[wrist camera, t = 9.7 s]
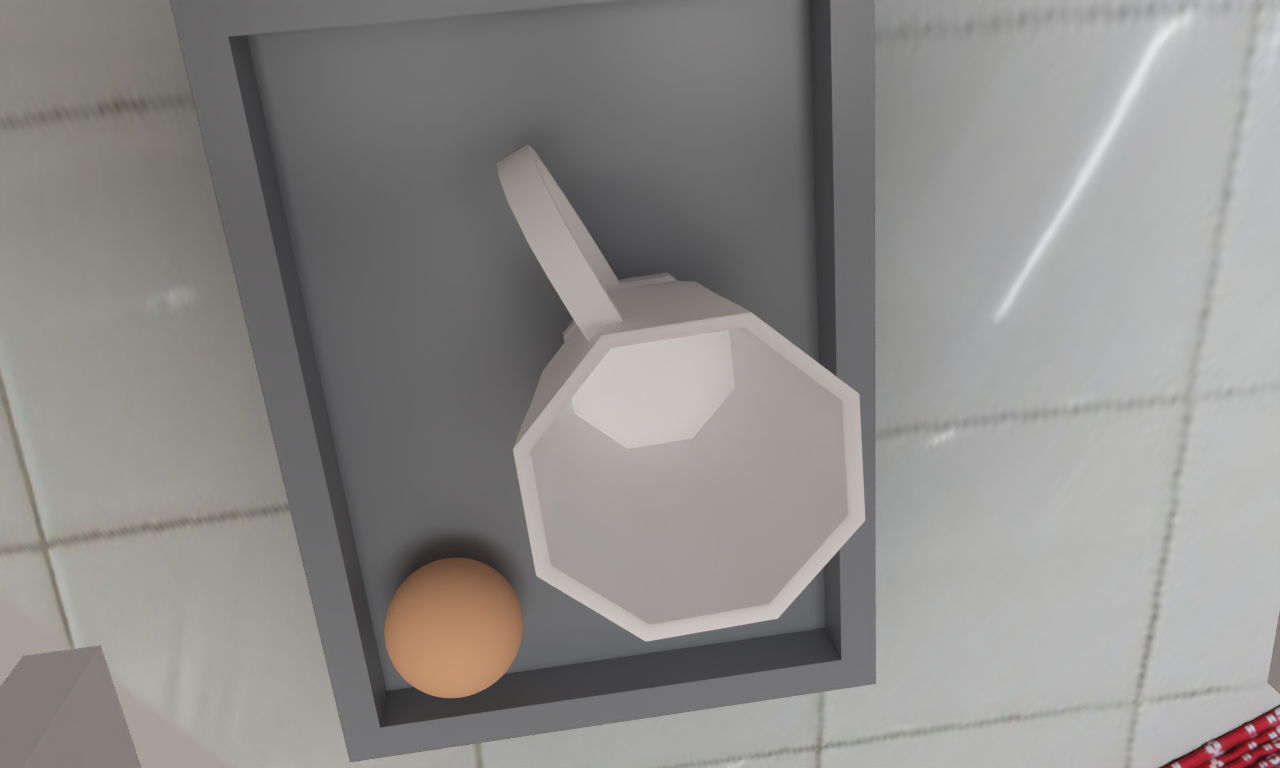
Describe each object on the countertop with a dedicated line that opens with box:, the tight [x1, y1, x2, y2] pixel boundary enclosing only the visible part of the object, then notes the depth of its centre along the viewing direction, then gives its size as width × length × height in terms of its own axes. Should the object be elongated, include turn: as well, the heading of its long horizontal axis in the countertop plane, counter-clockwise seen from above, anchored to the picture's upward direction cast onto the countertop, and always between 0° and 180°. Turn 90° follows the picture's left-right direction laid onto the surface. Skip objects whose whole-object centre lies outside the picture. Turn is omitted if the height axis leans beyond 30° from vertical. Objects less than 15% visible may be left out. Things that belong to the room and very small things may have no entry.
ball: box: [384, 558, 523, 698], centre depth 27 cm, size 4×4×4 cm
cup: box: [497, 144, 865, 642], centre depth 22 cm, size 7×10×8 cm
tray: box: [170, 0, 876, 762], centre depth 26 cm, size 20×15×2 cm
